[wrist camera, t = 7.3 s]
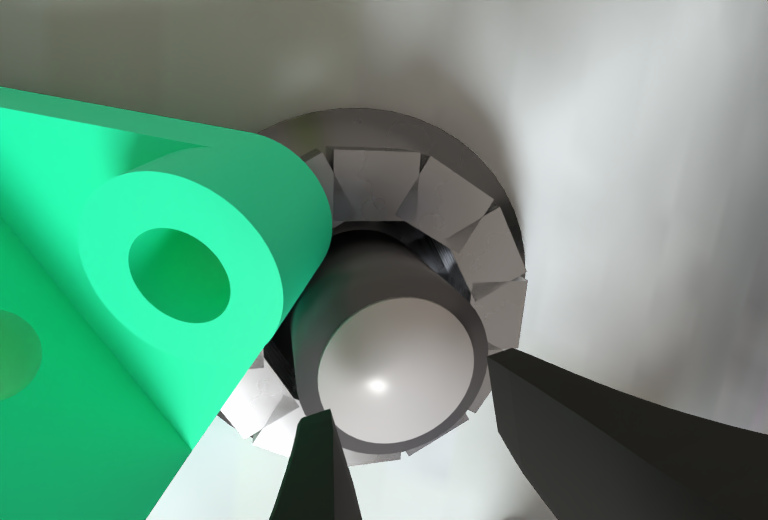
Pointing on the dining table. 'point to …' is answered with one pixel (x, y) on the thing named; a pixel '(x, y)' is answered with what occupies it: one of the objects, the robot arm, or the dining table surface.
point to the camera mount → (134, 293)
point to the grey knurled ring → (409, 225)
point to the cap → (385, 345)
